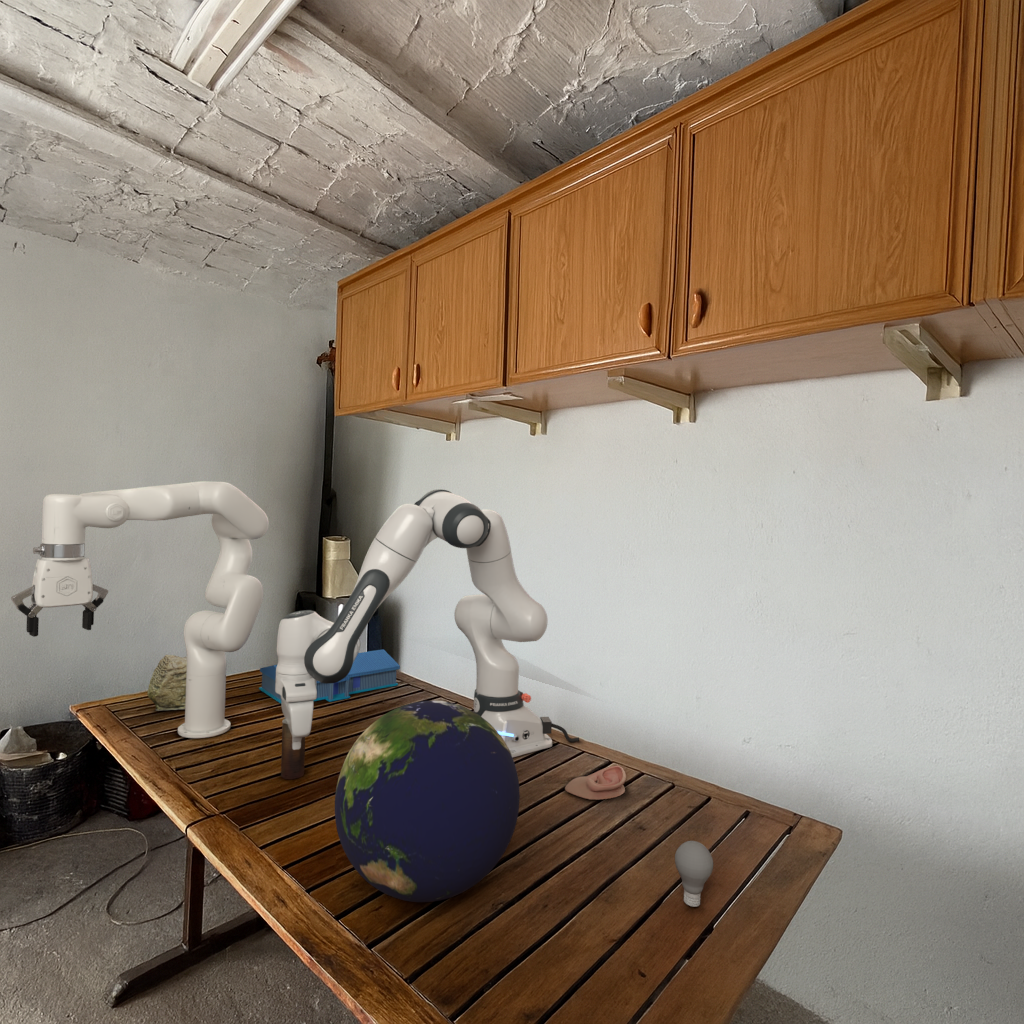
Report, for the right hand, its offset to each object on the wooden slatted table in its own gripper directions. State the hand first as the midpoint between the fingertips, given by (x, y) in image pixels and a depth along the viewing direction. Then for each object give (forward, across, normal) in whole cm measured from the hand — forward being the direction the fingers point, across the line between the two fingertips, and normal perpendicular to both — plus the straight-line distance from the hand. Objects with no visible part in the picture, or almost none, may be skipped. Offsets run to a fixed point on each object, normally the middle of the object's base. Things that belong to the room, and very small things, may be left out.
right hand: (294, 743), depth 143 cm
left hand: (-25, -14, -46) cm, 55 cm away
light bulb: (+7, +72, +52) cm, 89 cm away
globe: (+7, +51, +14) cm, 53 cm away
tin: (+7, 0, 0) cm, 7 cm away
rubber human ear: (+7, +32, +61) cm, 69 cm away
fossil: (+7, -58, -23) cm, 63 cm away
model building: (+7, -62, +21) cm, 65 cm away
